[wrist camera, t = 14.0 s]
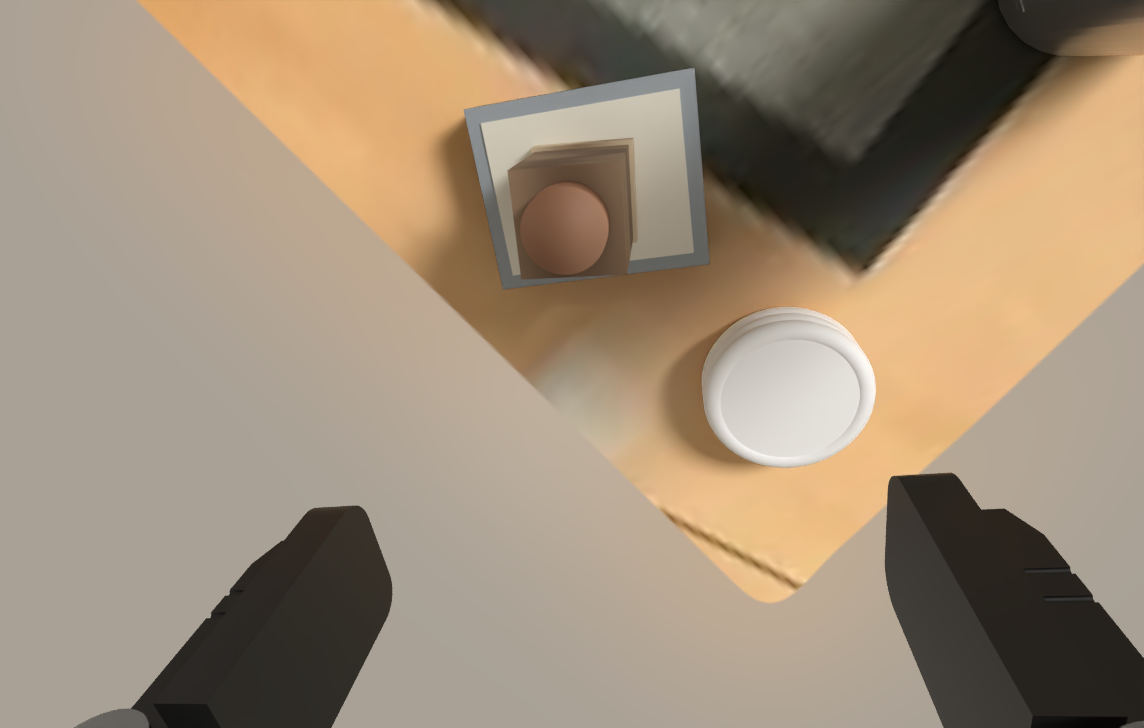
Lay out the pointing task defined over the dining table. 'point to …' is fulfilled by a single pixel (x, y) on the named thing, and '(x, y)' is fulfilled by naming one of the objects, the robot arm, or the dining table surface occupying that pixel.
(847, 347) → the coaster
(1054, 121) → the dining table surface
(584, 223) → the dome-topped square block
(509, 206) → the dock
